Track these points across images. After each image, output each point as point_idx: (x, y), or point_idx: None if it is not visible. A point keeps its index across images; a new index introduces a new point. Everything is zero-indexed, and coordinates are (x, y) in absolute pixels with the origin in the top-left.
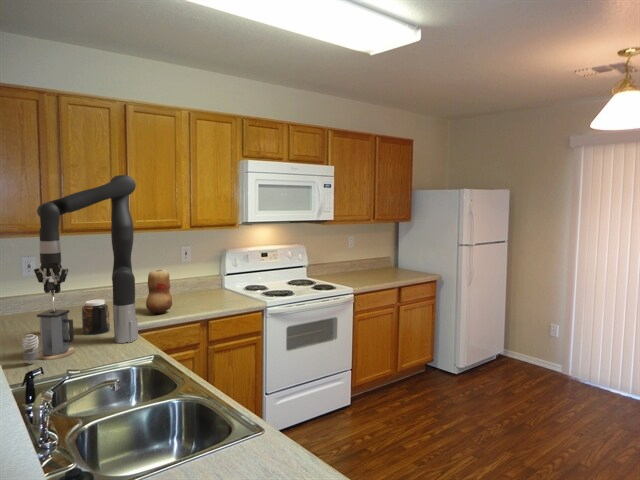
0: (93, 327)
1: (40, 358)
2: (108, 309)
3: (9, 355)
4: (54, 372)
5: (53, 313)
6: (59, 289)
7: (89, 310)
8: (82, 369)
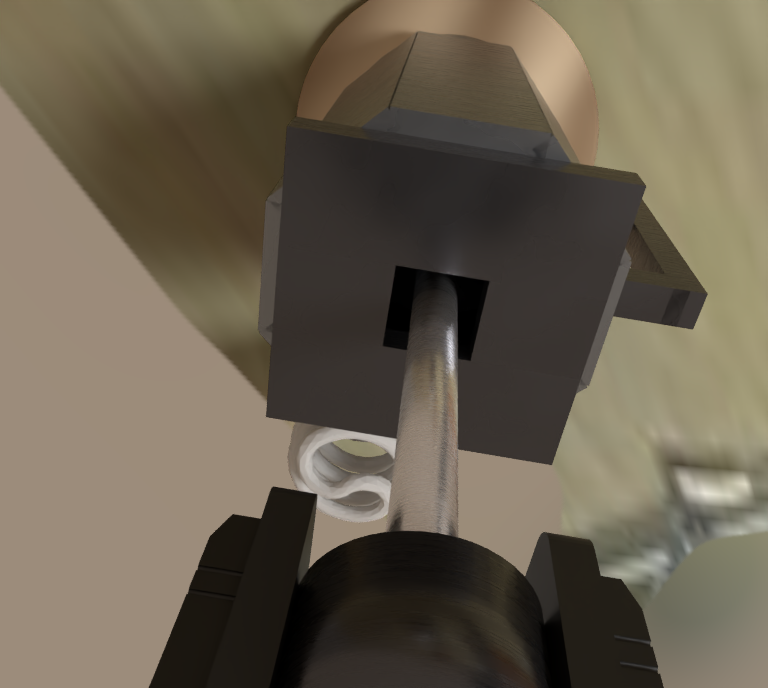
0: None
1: None
2: None
3: (82, 152)
4: (591, 485)
5: (469, 381)
6: (623, 642)
7: None
8: (756, 461)
